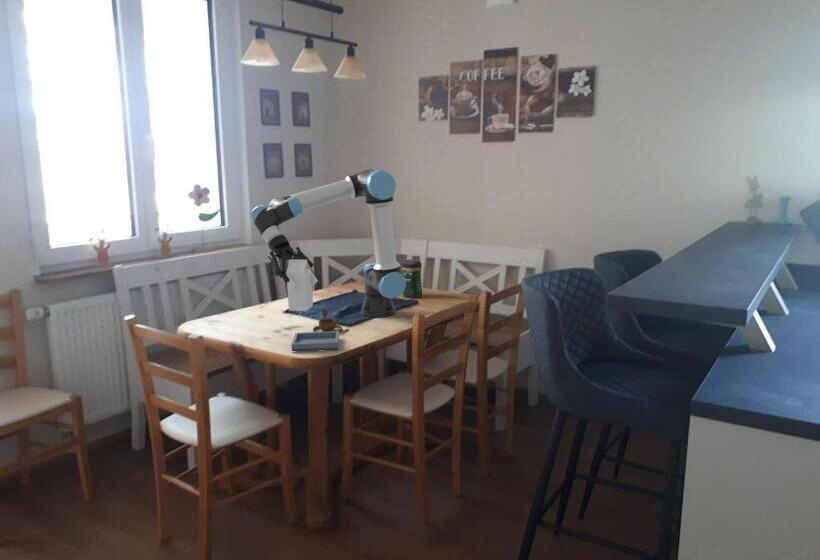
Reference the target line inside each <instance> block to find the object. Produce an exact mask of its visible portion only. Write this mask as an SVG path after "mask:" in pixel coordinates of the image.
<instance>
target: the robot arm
mask: <svg viewBox="0 0 820 560" xmlns="http://www.w3.org/2000/svg"><path fill="white" fill-rule="evenodd" d="M396 183H397V182H396V180H395V179H394V176H392V174H391V173H389V172H388V171H386V170H384V169H370V168H369V169H365V170H362V171H360V172H357V173H355V174H351V175H348V176H345V179H343V180H340V181H336V182H332V183H329V184H324V185H321V186H317V187H315V188H310V189H307V190H303V191H301V192H296V193H294V194H293V193H292V194H290V195H287V196H282V197H275V198H273V199H272V200H271V201H270V202H269V205H268V207H267V206H266V205H263V204H262V205H257V206H255V207H254V208H253V209H252V210H251V212H250V214H249V215H250V219H251V220H252V222H253V224H254V226H255V227H256V229H257V230H258V232H259V233H260V235H261V237H262V239H264V242H265V243H266V245H267V246H268V248H269V249H270V252H269V253H268V255H267V258H268V259H269V260H270V263H271V266H272V269H273V271H274V272H273V273H274V275H275V276H276V277H279V278H280V279H282V280H283V281H284V283H286V284H287V283H288V285H289V287H290V288H291V290H294V289H295V287H296V284H295V283H294V281H293V280H292V278H291V276H290V275H289V273H288V272H286V261H289V259H294V260H307V263H308V264H309V266H310V268H311V279H312V286H315V285H317V282H319V281H318V279H317V277H316V276H315V271H313V269H312V268H313V267H314V266H315V265H314V263H313V262H312V261H311V260H310V259H309V258H308V257H307V256H306V255H305V254H304V253H303V252H302V250H301V248H300V247H299V246H297V247H295V248H293V247H292V246H291V245H290V244H291V243H290V241H289V240H288V238H287V237H286V236H285V234H284V232H283V230H282V229H281V227H280V225H282V224H284V223H285V222H288V221H289V220H292V219H294V218H296V217H298V216H299V215H302V214H303V213H304V211H305V210H309V209H311V208H313V209H314V208H315V207H319V206H323V205H326V204H330V203H334V202H338V201H340V200H343V199H347V198H351V199H356V198H361V197H364V199H365V205H366V206H368V207H369V210H370V219H371V228H372V229H371V230H372V238H373V245H374V255H375V263H372V262H371V263H366V264H365V265H364V266H363V267H364V269H363V275H364V276H363V277H364V279H363V280H364V282H363V283H364V299H363V302H362V305H361V315H362V314H363V316H364V315H365V317H369V318H370V317H371V318H384V317H390V316H392V315H394V314H395V313H396V308H395V304H394V302H393V299H395V298H398V297H399V296H401V295H403V291H404V289H405V287H406V281H405V278H404V276H403V273H402V266H401V264H400V263H399V262H398V261H397V255H396V254H397V253H396V246H395V237H394V228H393V226H394V225H393V219H392V210H391V209H392V207H391V205H392V204H393V203H394V193H395V192H396V188H397V187H396Z"/></svg>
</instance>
